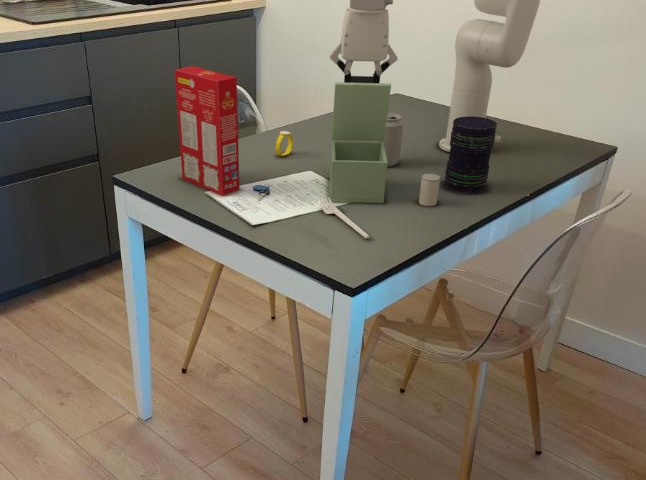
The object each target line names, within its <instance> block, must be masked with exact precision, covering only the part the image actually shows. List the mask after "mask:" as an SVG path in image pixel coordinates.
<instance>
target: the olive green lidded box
mask: <svg viewBox="0 0 646 480" xmlns="http://www.w3.org/2000/svg"><path fill="white" fill-rule="evenodd" d="M329 167H330V168H329V198H330V200H331V201H332V203H333V202H335V203H367V204H368V203H369V204H384V201H385V191H386V182H387V171H388V167H387V158H386V153H385V148H384V143H382V142H372V141H343V140H331V149H330V166H329Z"/></svg>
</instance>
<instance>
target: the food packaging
mask: <svg viewBox="0 0 646 480" xmlns="http://www.w3.org/2000/svg"><path fill="white" fill-rule="evenodd" d="M174 79H175V93H176V107H177V123H178V136H179V151H180V163H181V164H180V165H181V178H182V180H183V181H185V182H188V183H190V184H193V185H196V186H198V187H200V188H203V189H205V190H208V191H209V192H211V193H215V194H217V195H220V196H225V195H229V194H232V193H235V192H238V191H240V160H239V155H240V154H239V153H240V152H239V118H238V117H239V116H238V77H236V76H233V75H228V74H225V73H221V72H217V71H214V70H209V69H205V68H202V67H198V66H194V65H192V66H187V67H182V68H177V69H174Z"/></svg>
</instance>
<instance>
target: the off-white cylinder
mask: <svg viewBox="0 0 646 480" xmlns="http://www.w3.org/2000/svg"><path fill="white" fill-rule="evenodd" d="M440 182H441V176H440V175H438V174H434V173H425V174H422V175H421V180H420V187H419V197H418V203H419V205H421V206H425V207H433V206H436V205H437V204H438V196H439V189H440Z"/></svg>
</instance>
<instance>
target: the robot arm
mask: <svg viewBox="0 0 646 480" xmlns="http://www.w3.org/2000/svg"><path fill="white" fill-rule="evenodd" d="M393 4H394V0H349V8H346V9H345V12H344V17H343V22H342V29H341V38H340V39H341V40H340V43H339V44H338V45H337V46H336V47H335V49H334V50H333V51H332V53H331V54H330V55H329V58H330V60H331V61H332V62H333V64H335V65H337V67H338V68H339V69H340V71H342V73H343V74H344V75H343V76H344V78H343V83H351V76H352V72H351V69H352V66H353V64H354V62H373V64H374V69H375V70H374V72H373V74H372V76H374V83H381V75H383V74H384V72H385V71H386V70H387V69H389V67H390V66H392V65H393V64H394V63H396V62H397V61H398V56H397V54H396V53H395V51H394V49H393V48H392V47H391V44H389V41H390V39H389V37H390V16H389V15H390V14H389V9H387V8H386V7H388V6H389V5H393ZM540 4H541V0H473V5H474V7H475V8H476V10H477V11H479V12H480V13H483V14H486V15H491V16H498V17H504V18H505V21H504V22H498V21H495V20H487V19H481V18H475V19H470V20H467V21H465V22H464V23H463V24H462V25H460V27H459V29H458V30H457V33H456V36H455V42H454V43H455V44H454V47H455V49H454V50H455V69H454V70H455V71H454V78H453V80H454V81H453V85H452V93H451V98H450V99H451V100H450V106H449V113H448V119H447V120H448V121H447V127H446V134H445V137H443V138H442V139H440V140H439V144H438V147H439V148H440V149H441V150H443V151H444V152H448V153H450V148H451V146H450V140H451V132H452V127H453V121H454V119H456V118H459V117H482V118H487V114H488V108H489V102H490V96H491V90H492V85H493V74H492V69H491V66H493V67H498V68H499V67H500V68H505V69H507V68H512V67H514V66H516V65H517V64H518V62H520V60H521V59H522V57H523V55H524V53H525V51H526V47H527V45H528V42H529V38H530V35H531V33H532V30H533V27H534V23H535V21H536V17H537V13H538V10H539V7H540ZM340 55H341V58H342V59H343V60H344V61H345V62H344V61H343V60H342V59H340V57H339V56H340ZM388 56H389V57H388ZM387 57H388V58H387ZM381 62H382V63H381ZM501 138H502V137H501V135H495V141H494V144H501Z"/></svg>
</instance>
